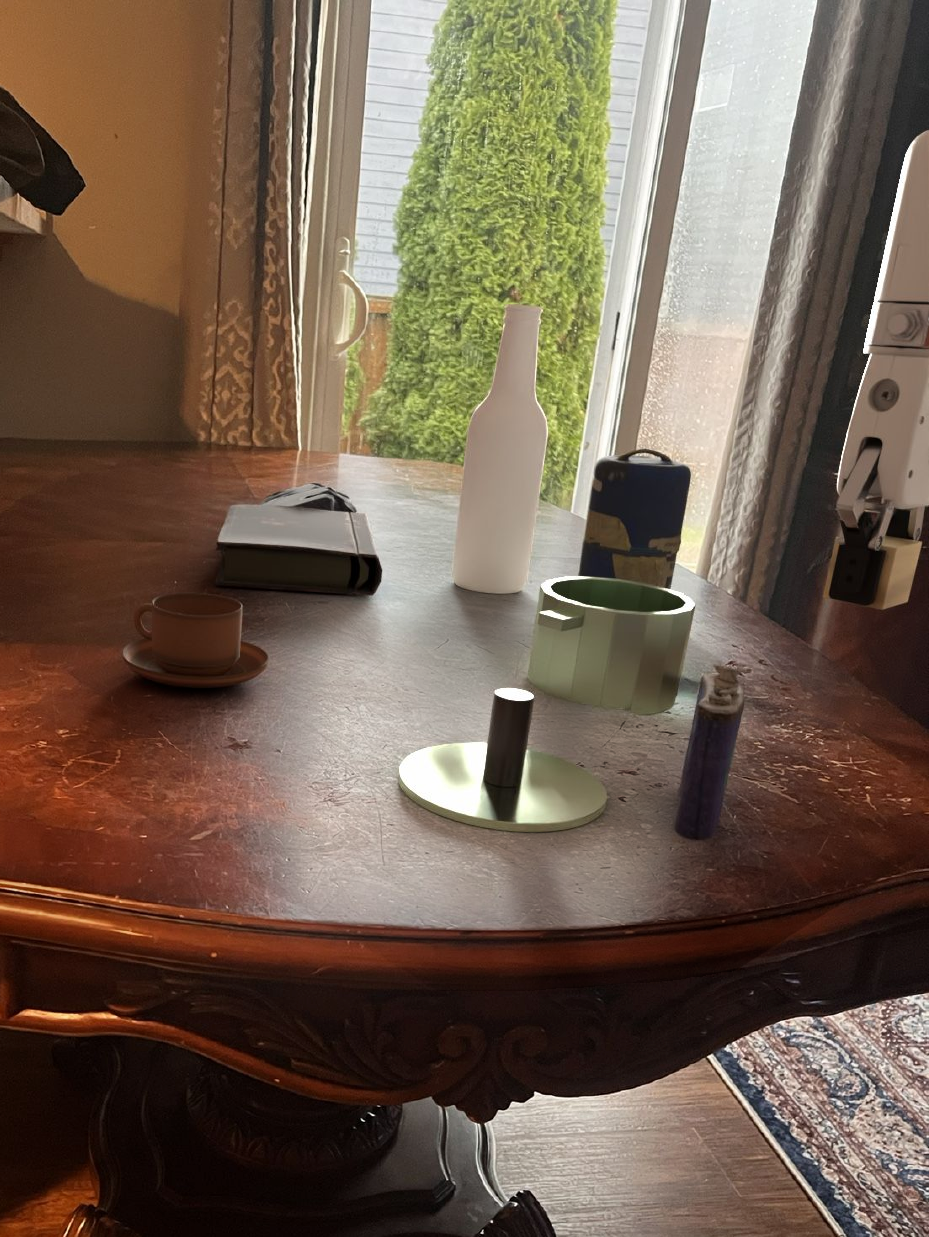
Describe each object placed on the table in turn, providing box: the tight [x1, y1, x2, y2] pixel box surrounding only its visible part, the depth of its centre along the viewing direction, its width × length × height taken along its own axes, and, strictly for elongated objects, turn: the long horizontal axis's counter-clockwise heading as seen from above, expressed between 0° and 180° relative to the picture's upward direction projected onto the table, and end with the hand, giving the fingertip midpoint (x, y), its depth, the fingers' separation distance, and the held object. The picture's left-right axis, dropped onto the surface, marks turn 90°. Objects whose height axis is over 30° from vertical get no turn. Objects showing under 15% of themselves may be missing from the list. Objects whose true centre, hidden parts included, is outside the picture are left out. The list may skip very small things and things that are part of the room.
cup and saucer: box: [122, 592, 270, 689], centre depth 96 cm, size 12×12×6 cm
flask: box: [674, 662, 748, 842], centre depth 75 cm, size 9×3×11 cm, turn 162°
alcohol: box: [450, 303, 549, 595], centre depth 130 cm, size 9×9×30 cm
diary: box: [215, 503, 383, 596], centre depth 136 cm, size 19×25×5 cm
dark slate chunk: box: [260, 482, 358, 513], centre depth 166 cm, size 15×22×5 cm
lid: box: [397, 687, 608, 833], centre depth 77 cm, size 14×14×7 cm
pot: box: [526, 576, 696, 716], centre depth 100 cm, size 13×18×8 cm
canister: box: [577, 448, 692, 590], centre depth 118 cm, size 10×10×18 cm
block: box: [822, 536, 923, 611], centre depth 86 cm, size 4×4×4 cm
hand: (866, 594), depth 87 cm, fingers closed on block, 4 cm apart
